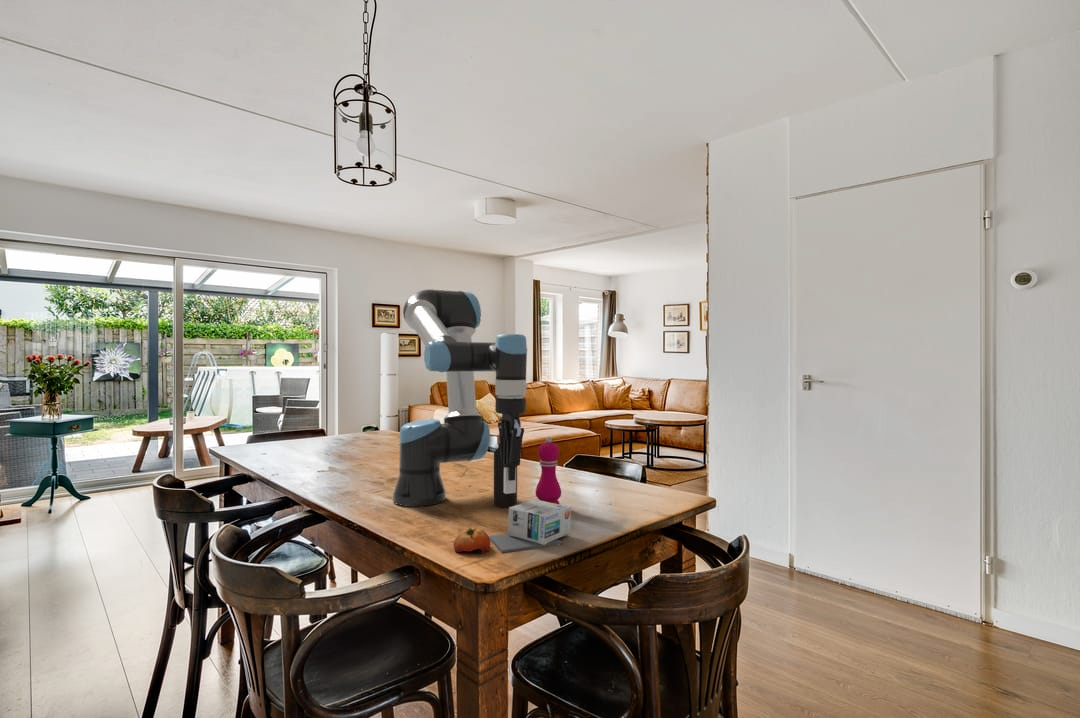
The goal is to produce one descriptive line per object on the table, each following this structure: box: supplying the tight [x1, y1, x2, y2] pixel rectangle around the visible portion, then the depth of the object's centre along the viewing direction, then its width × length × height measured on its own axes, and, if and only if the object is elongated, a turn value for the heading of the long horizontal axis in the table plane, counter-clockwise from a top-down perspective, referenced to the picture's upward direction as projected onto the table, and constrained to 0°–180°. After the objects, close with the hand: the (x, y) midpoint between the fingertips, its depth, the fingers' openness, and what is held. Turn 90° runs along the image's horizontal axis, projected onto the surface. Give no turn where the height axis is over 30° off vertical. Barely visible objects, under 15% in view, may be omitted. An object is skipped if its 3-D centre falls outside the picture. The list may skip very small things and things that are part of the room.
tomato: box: [453, 527, 491, 555], centre depth 117 cm, size 8×7×7 cm
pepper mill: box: [535, 436, 562, 505], centre depth 149 cm, size 7×7×20 cm
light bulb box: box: [507, 498, 572, 545], centre depth 125 cm, size 11×7×11 cm
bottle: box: [493, 434, 518, 508], centre depth 153 cm, size 7×7×20 cm
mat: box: [488, 533, 562, 553], centre depth 122 cm, size 10×14×1 cm
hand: (509, 492), depth 131 cm, fingers closed
